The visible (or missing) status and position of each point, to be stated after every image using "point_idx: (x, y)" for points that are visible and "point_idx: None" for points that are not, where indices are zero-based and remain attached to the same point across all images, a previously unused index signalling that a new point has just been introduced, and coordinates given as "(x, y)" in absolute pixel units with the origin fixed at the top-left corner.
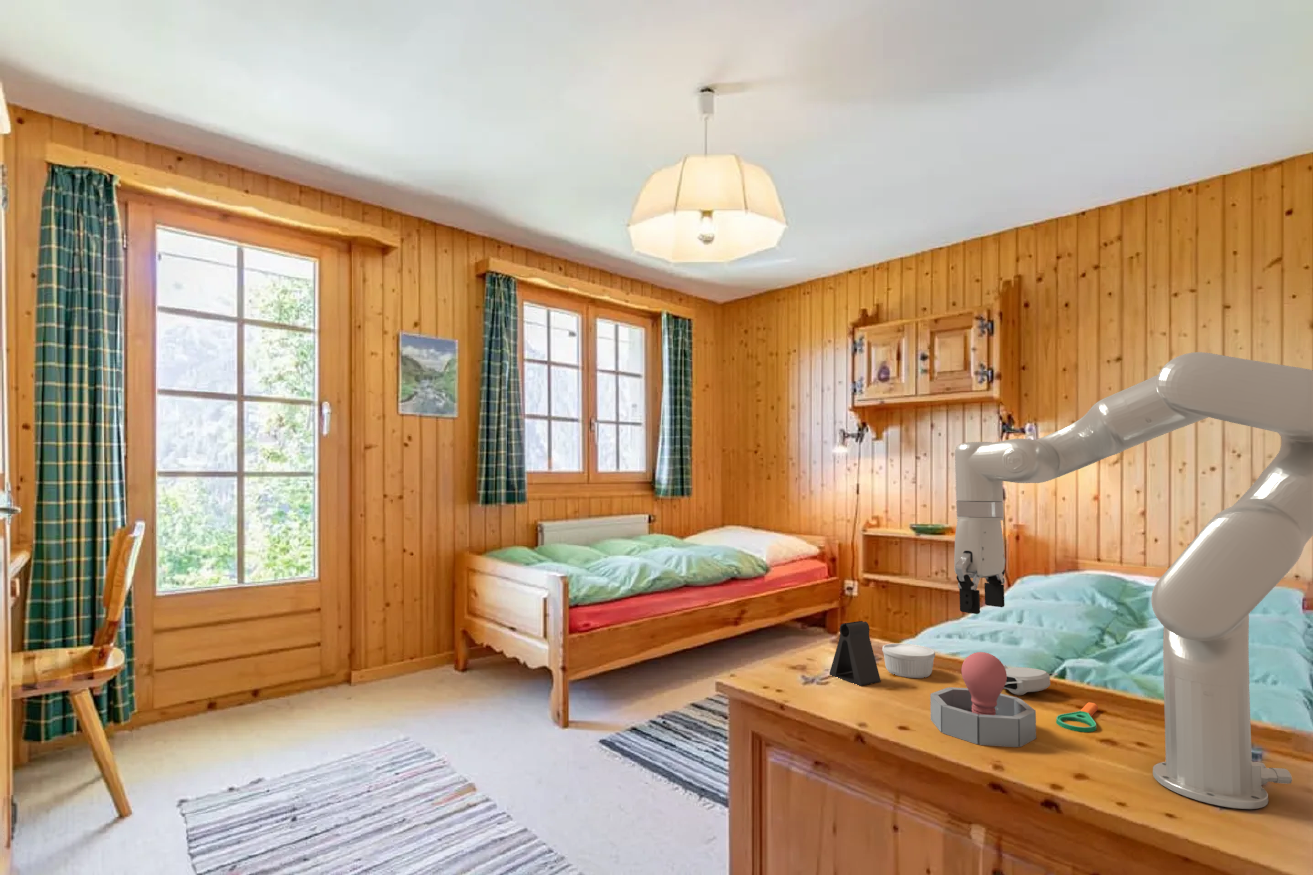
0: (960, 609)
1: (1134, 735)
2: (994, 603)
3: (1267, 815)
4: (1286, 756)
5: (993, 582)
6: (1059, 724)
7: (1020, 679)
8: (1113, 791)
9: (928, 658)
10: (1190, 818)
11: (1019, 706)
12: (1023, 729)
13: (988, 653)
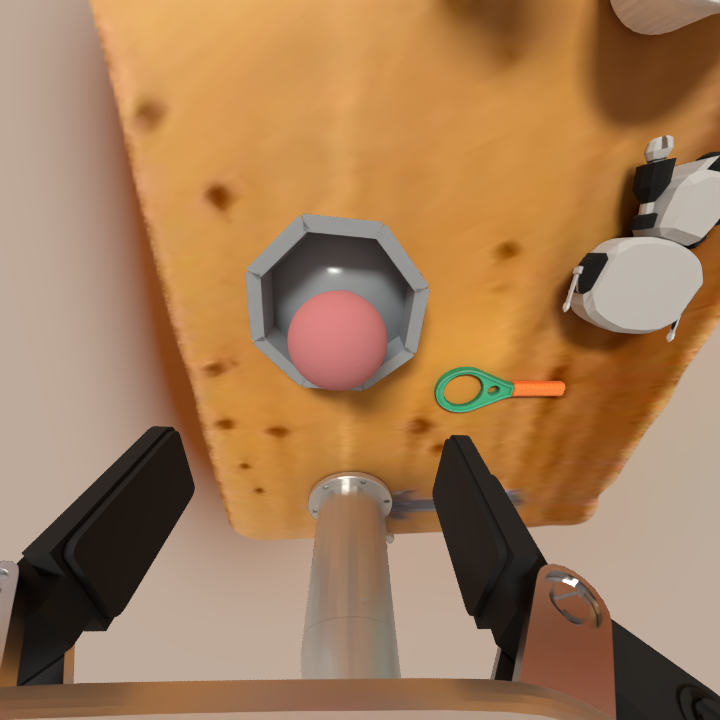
0: (151, 430)
1: None
2: (440, 479)
3: None
4: None
5: (498, 610)
6: (443, 375)
7: (585, 302)
8: (268, 457)
9: (681, 7)
10: (268, 499)
11: (385, 359)
12: None
13: (345, 371)
